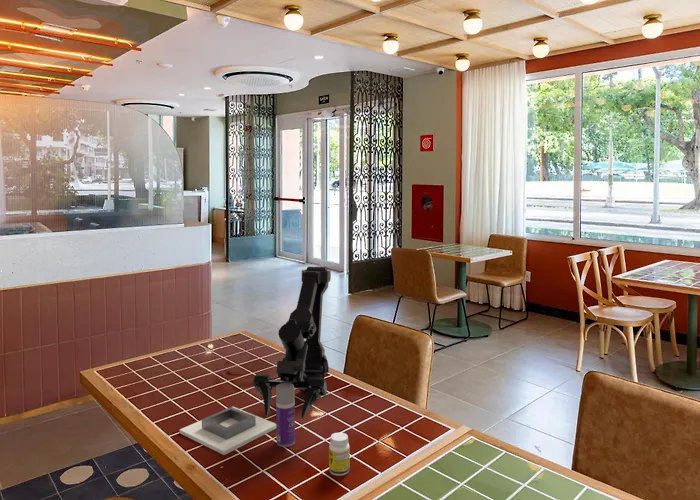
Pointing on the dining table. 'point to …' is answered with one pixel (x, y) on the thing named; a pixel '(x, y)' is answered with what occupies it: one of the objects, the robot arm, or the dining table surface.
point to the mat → (232, 443)
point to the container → (285, 414)
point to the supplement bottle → (339, 454)
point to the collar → (227, 432)
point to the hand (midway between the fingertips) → (284, 417)
